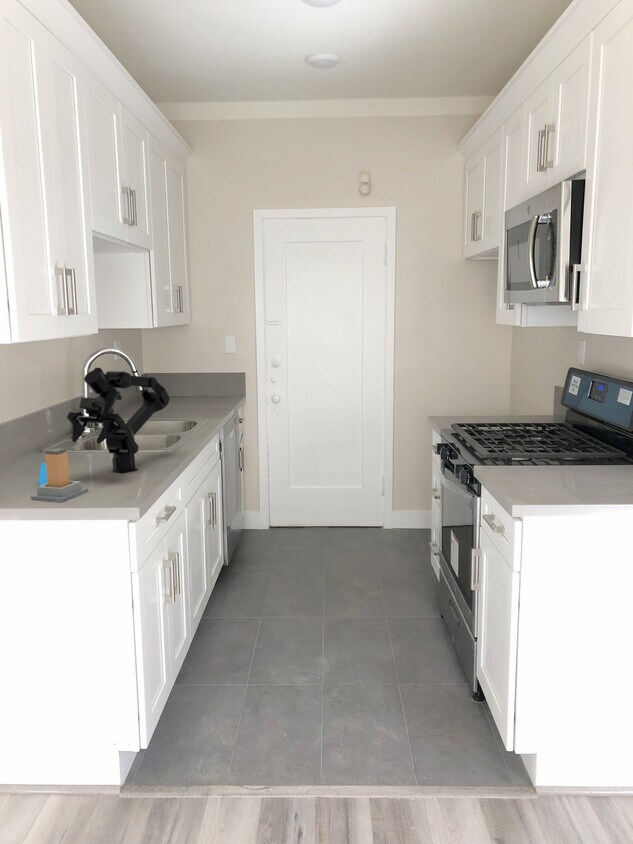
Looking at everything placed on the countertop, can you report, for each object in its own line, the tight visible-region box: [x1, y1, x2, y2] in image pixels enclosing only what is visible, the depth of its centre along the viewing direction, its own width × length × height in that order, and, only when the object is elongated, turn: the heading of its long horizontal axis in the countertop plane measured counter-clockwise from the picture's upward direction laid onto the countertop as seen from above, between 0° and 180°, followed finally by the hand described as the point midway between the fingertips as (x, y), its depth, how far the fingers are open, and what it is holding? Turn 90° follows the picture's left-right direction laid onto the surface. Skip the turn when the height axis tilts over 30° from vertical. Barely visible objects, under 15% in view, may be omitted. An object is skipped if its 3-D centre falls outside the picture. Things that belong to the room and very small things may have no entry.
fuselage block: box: [44, 447, 71, 488], centre depth 203 cm, size 4×4×13 cm
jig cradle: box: [30, 480, 89, 503], centre depth 204 cm, size 12×11×4 cm
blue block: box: [38, 462, 48, 486], centre depth 219 cm, size 7×7×18 cm
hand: (85, 442), depth 215 cm, fingers open, 9 cm apart
